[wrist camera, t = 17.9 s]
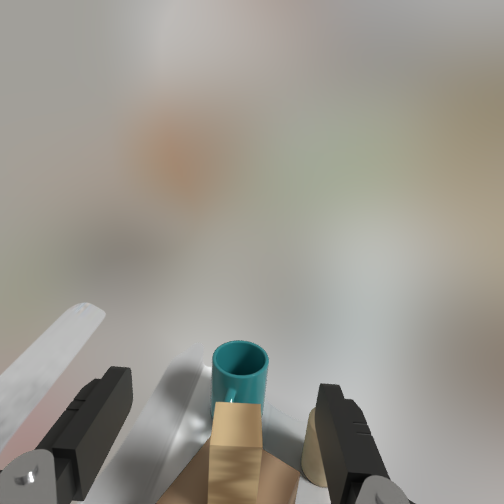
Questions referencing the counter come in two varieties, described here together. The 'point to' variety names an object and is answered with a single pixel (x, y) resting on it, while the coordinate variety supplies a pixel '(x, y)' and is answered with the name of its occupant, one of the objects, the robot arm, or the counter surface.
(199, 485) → the walnut block
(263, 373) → the cup
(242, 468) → the oak pillar
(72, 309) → the counter surface
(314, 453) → the candle
